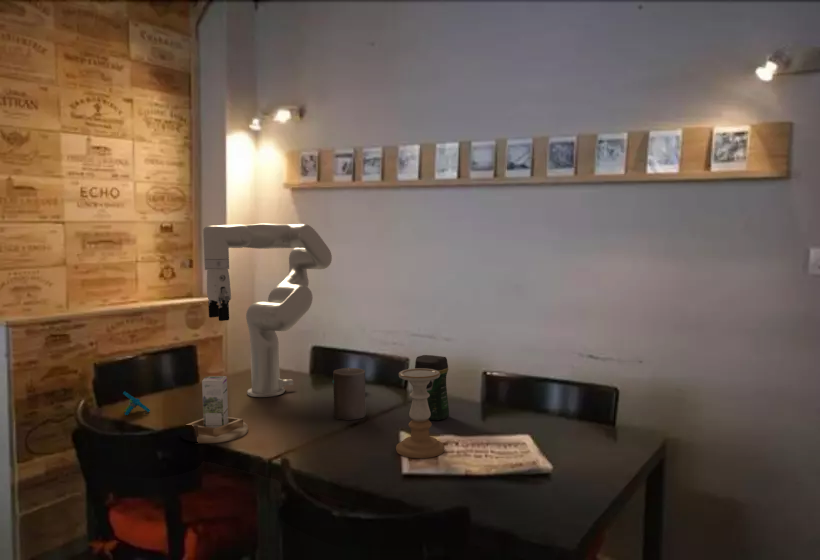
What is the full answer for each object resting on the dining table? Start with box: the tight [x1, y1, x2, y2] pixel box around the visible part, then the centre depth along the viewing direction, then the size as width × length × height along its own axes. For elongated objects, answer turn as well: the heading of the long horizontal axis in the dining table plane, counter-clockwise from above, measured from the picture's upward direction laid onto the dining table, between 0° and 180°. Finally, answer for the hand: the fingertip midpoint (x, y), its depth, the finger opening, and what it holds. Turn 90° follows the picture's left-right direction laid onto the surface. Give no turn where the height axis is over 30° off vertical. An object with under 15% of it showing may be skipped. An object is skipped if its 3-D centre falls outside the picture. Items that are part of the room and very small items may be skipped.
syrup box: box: [201, 375, 229, 428], centre depth 192 cm, size 6×6×14 cm
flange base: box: [185, 416, 249, 444], centre depth 192 cm, size 18×18×4 cm
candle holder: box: [395, 368, 445, 459], centre depth 174 cm, size 12×12×20 cm
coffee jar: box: [414, 354, 450, 421], centre depth 204 cm, size 10×8×19 cm
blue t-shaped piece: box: [122, 390, 151, 416], centre depth 213 cm, size 11×6×10 cm
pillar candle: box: [332, 366, 367, 421], centre depth 207 cm, size 10×10×15 cm
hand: (218, 318), depth 219 cm, fingers open, 9 cm apart
